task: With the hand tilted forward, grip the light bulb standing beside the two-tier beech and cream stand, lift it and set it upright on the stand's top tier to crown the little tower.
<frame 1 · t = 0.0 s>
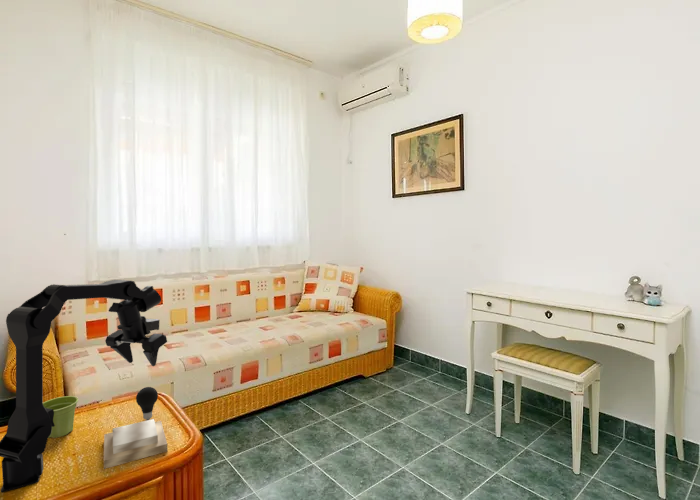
hand: (142, 363, 121), 15 cm above the table, tool pointing down, fingers open, 9 cm apart
plant pot: (59, 433, 110), on the table
light bulb: (147, 420, 117), on the table
stepped stand: (135, 446, 103), on the table
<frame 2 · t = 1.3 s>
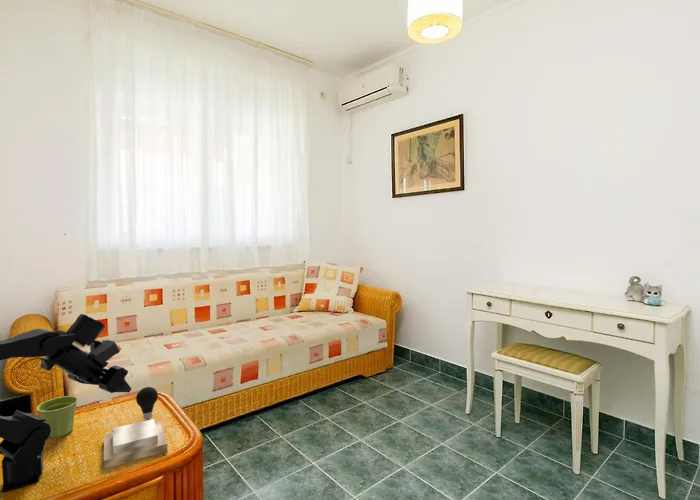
hand: (119, 387, 109), 13 cm above the table, tool tilted 45°, fingers open, 9 cm apart
nothing on the table moved.
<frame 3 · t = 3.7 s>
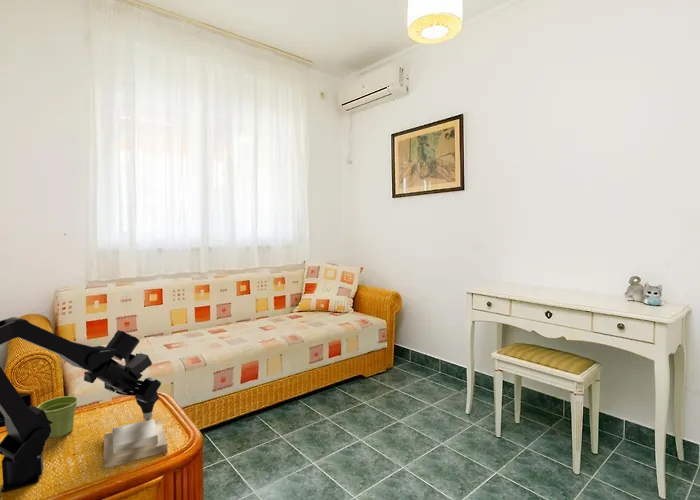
hand: (151, 396, 118), 7 cm above the table, tool tilted 45°, fingers closed on light bulb, 6 cm apart
light bulb: (147, 420, 117), on the table, touching gripper
everything else where it was.
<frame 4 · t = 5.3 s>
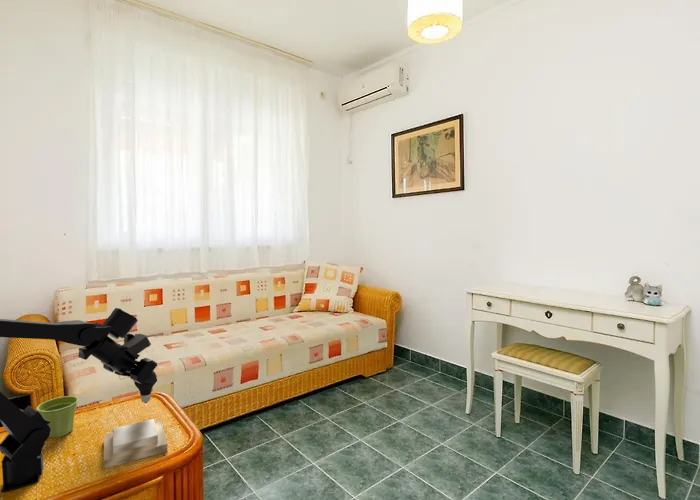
hand: (150, 379, 115), 13 cm above the table, tool tilted 45°, fingers closed on light bulb, 6 cm apart
light bulb: (145, 403, 114), point 7 cm above the table, touching gripper
everything else where it was.
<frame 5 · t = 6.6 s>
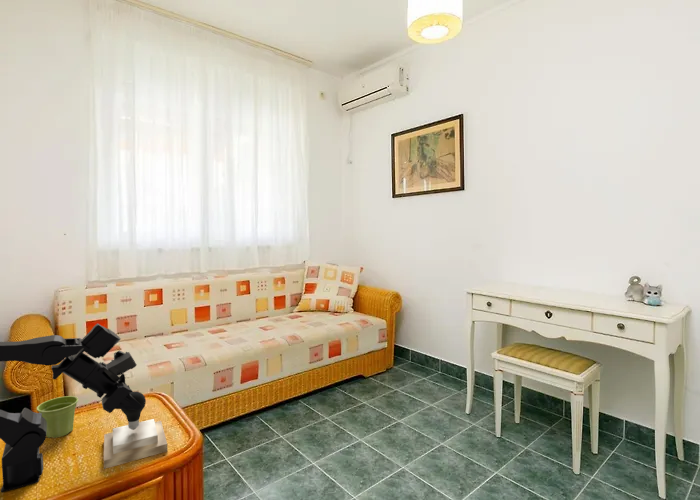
hand: (138, 403, 103), 11 cm above the table, tool tilted 45°, fingers closed on light bulb, 6 cm apart
light bulb: (133, 429, 103), point 5 cm above the table, touching gripper
everything else where it was.
when the fingers open (11 cm above the table, at t = 7.0 s): light bulb stays where it is, resting on stepped stand.
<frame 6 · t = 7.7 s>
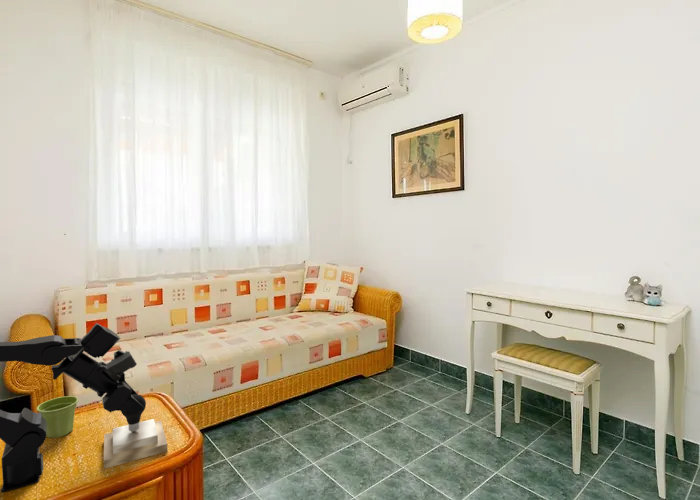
hand: (139, 402, 103), 12 cm above the table, tool tilted 45°, fingers open, 9 cm apart
light bulb: (134, 432, 103), point 4 cm above the table, touching stepped stand
everything else where it was.
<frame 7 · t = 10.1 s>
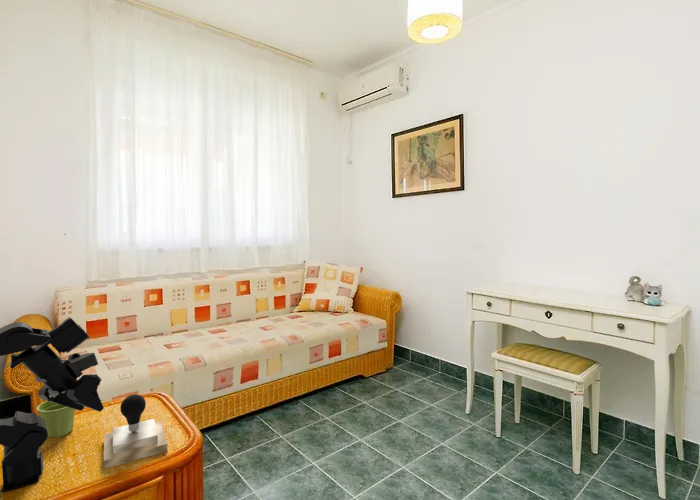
hand: (92, 409, 98), 12 cm above the table, tool tilted 30°, fingers open, 9 cm apart
nothing on the table moved.
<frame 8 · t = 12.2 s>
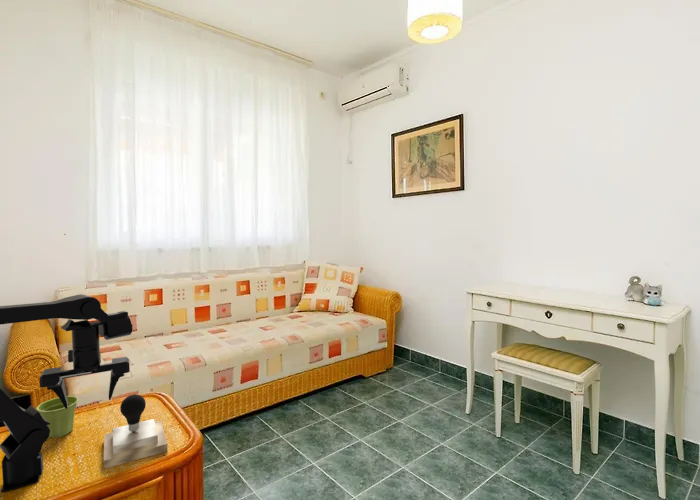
hand: (88, 403, 100), 13 cm above the table, tool pointing down, fingers open, 9 cm apart
nothing on the table moved.
at the end: light bulb 0.2 cm off-centre on the stepped stand, point 3.8 cm above the stepped stand's base; light bulb tilted 0°; the gripper is holding nothing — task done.
